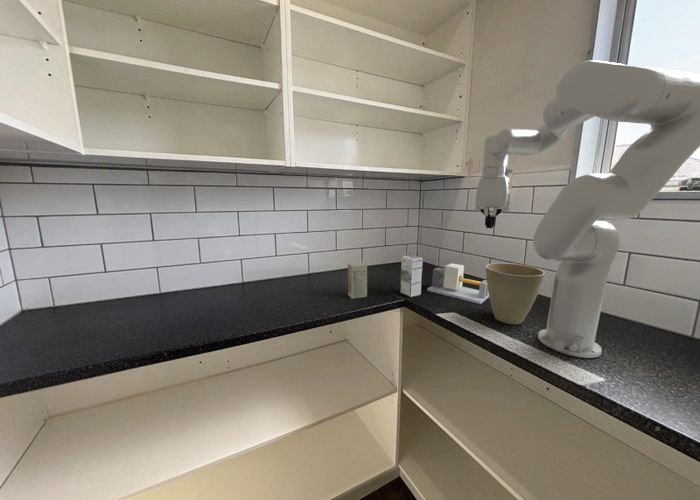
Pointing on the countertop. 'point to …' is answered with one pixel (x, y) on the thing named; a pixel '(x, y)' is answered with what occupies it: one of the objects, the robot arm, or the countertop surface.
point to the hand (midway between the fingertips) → (489, 227)
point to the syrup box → (411, 275)
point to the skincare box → (357, 280)
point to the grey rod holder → (462, 292)
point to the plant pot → (512, 290)
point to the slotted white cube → (453, 276)
